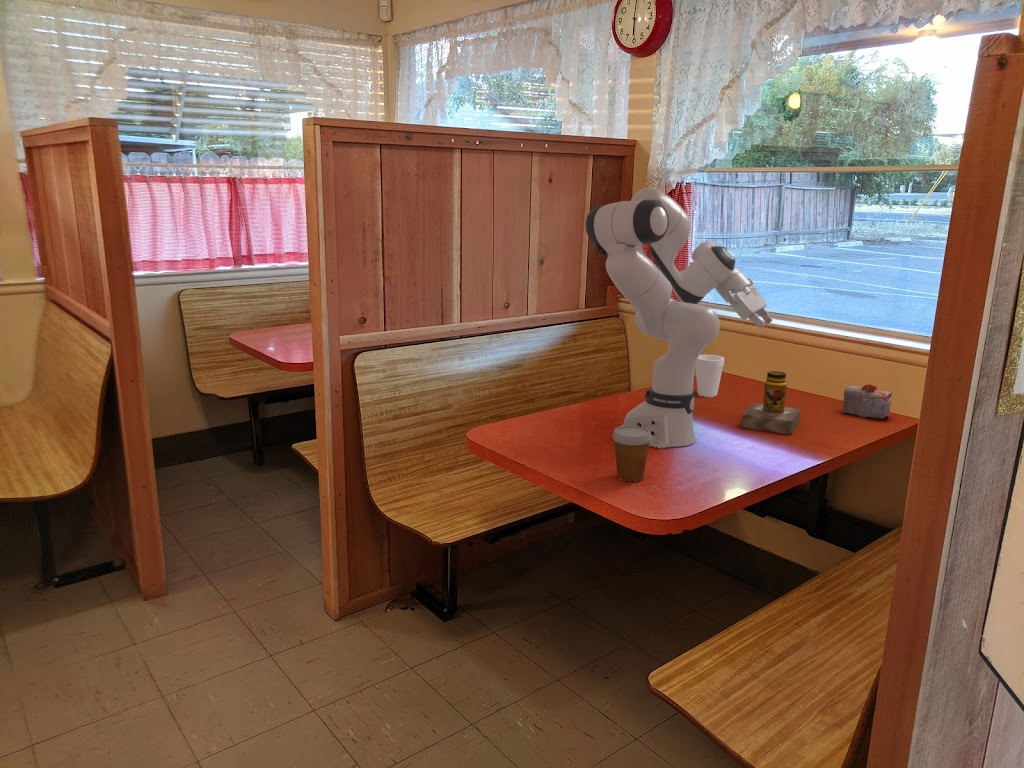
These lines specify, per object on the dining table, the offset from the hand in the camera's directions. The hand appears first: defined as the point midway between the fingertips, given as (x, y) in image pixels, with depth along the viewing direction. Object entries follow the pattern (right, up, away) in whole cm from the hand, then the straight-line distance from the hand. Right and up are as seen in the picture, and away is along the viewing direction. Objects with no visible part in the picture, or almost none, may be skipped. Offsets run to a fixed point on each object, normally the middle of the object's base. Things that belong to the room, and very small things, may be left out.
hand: (766, 324), depth 217 cm
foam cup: (-7, -21, +41) cm, 46 cm away
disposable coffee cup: (-45, -40, -33) cm, 69 cm away
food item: (+37, -27, +17) cm, 49 cm away
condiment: (+4, -25, +8) cm, 27 cm away
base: (+4, -29, +8) cm, 31 cm away
